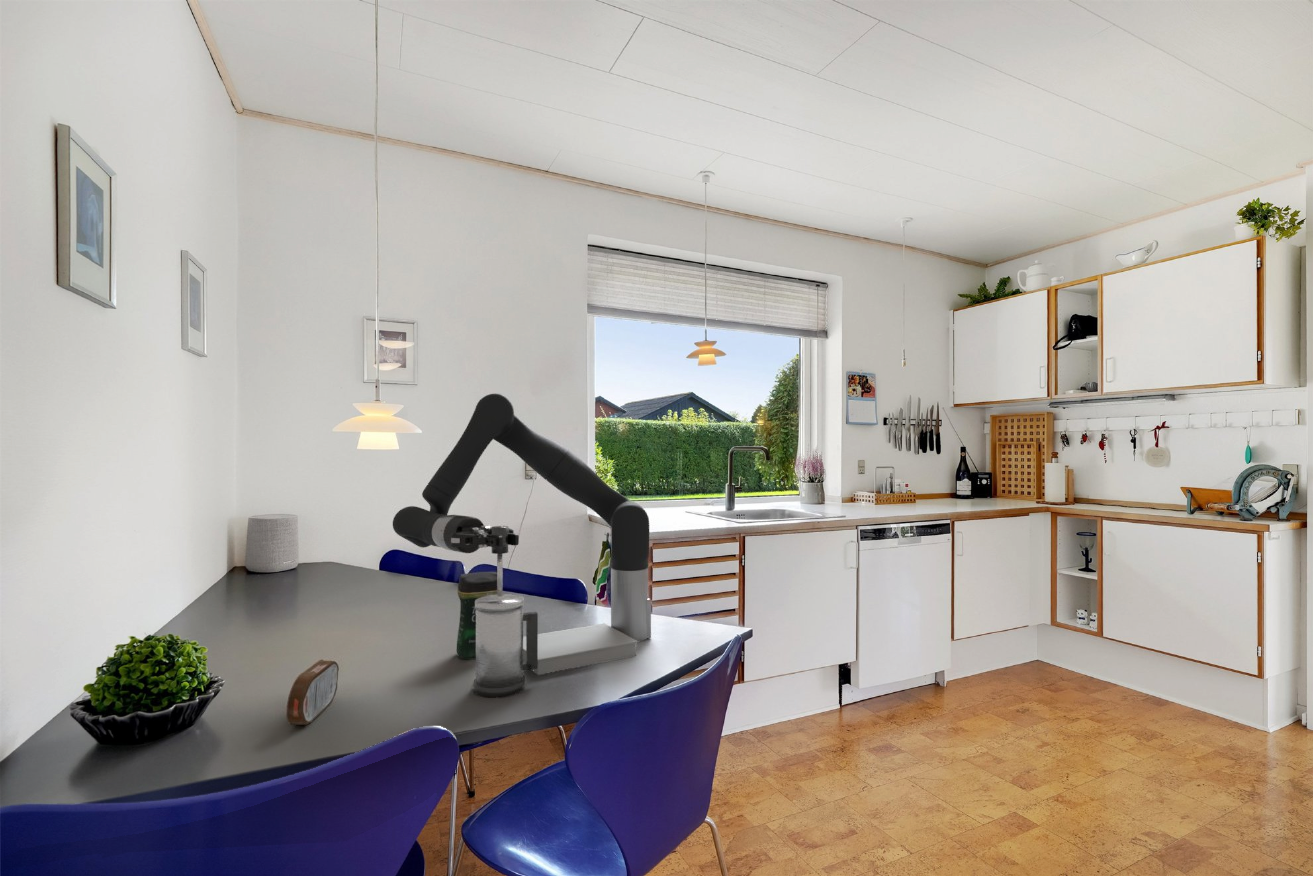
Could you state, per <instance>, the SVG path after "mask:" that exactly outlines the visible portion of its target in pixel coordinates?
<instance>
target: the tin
mask: <svg viewBox="0 0 1313 876" xmlns="http://www.w3.org/2000/svg"><path fill="white" fill-rule="evenodd" d="M339 669H340V667H339V664H338V663H337V662H336V661H334V660H324V659H319V660H318V661H317V662H315V663H314V664H312V665H311V666H309V668H307V669H306V670H304V671H303V672H301V673H300V674H299V675H298V676H297V677H296V678H295V680H294V682H293V683H292V686H291V689H290V690H289V691H290V692H289V695H288V699H287V704H286V719H287V722H288V723H289V725H291V726H296V725H297V726H298V725H299V726H303V725H304V726H305V725H310V724H311V723H313V721H314V720H315V719H317V718H318V717H319V716H320V715H321V714H322V713H323V712H324V711H326V709H327V708H328V707H329V706H330V705H331V704H332V702H333V701H334V698H335V696H336V693H337V690H338V679H339ZM318 715H319V716H318ZM317 716H318V717H317ZM309 723H310V724H309Z"/></svg>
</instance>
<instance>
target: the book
mask: <svg viewBox="0 0 1313 876" xmlns="http://www.w3.org/2000/svg"><path fill="white" fill-rule="evenodd" d="M637 644H639V641H637V640H635V639H633V638H631V637H629V636H627V635H625V634H624V633H622V632H620V631H618V630H616V629H614V628H612V627H611V625H609V624H607V623H597V624H593V625H588V626H581V627H573V628H567V629H562V630H556V631H549V632H544V633H538V669H533V670H534V671H533V670H532V671H533V672H534V673H535V672H536V673H537V674H542V675H545V673H547V674H549V673H548V672H552V673H556V672H555V671H557V672H560V671H559V670H562V671H565V669H567V670H569V669H568V668H572V669H576V668H575V667H577V668H579V667H578V666H582V667H586V665H587V666H591V665H590V664H592V665H596V664H601V662H602V663H607V662H611V660H612V661H617V660H622V659H627V658H632V657H636V656H637ZM631 656H632V657H631ZM621 658H622V659H621ZM523 662H526V635H523ZM536 673H535V674H536ZM537 674H536V675H537Z"/></svg>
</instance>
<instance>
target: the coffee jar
mask: <svg viewBox="0 0 1313 876" xmlns="http://www.w3.org/2000/svg"><path fill="white" fill-rule="evenodd" d="M489 595H497V571H478V572H470V573H461V574H460V575H459V580H458V586H457V596H458V598H459V601H460V610H459V611H460V612H459V624H458V632H457V638H456V639H457V640H456V654H457V656H458V657H459V658H461V659H465V660H476V609H475V600H476V599H478V598H481V597H484V596H489Z"/></svg>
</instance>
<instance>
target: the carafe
mask: <svg viewBox="0 0 1313 876" xmlns="http://www.w3.org/2000/svg"><path fill="white" fill-rule="evenodd" d="M524 607H525V597H524V596H522V595H519V594H511V593H510V594H509V593H508V594H507V593H502V596H497V595H489V596H484V597H481V598H478V599H476V600H475V609H476V659H475V679H474V680H473V693H474V694H475V695H476V696H479V697H483V698H488V699H489V698H491V699H496V697H499V698H506V697H510V695H511V696H514V695H516V694H515V693H517V694H519V693H520V691H521V692H522V691H524V690H525V688H526V676H525V675H524V671H533V669H538V634H539V633H538V629H539V627H538V626H539V625H538V624H539V622H538V619H539V618H538V616H539V615H538V612H537V611H531V612H524ZM525 621H526V625H525V626H526V627H525V629H526V630H525V631H526V634H525V636H526V662H523V637H524V622H525ZM513 694H514V695H513ZM505 696H506V697H505Z"/></svg>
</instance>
